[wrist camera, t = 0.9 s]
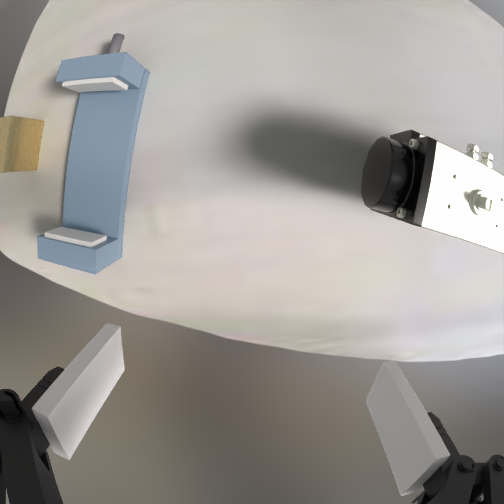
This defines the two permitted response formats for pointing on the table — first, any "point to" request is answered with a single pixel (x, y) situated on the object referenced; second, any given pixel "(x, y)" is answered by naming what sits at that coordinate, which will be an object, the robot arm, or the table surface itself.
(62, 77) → the free jaw
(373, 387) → the robot arm
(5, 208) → the table surface
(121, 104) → the vise
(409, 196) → the white pneumatic actuator
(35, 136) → the wooden block
